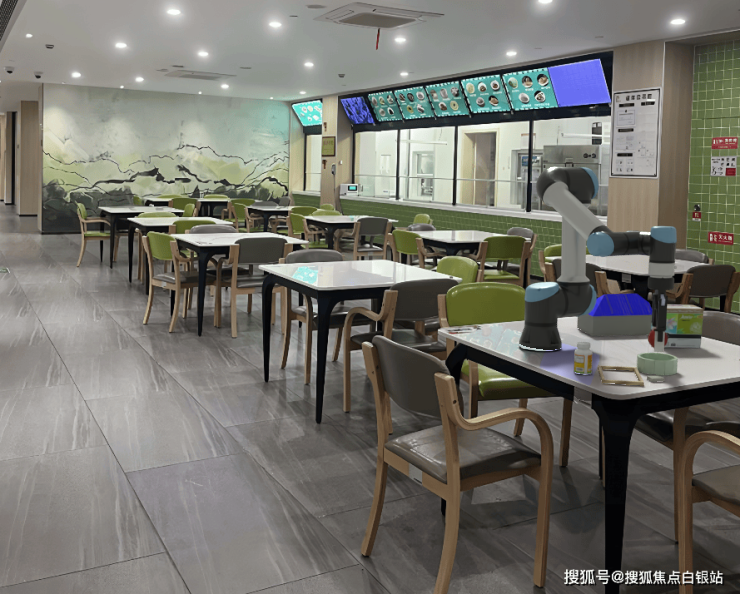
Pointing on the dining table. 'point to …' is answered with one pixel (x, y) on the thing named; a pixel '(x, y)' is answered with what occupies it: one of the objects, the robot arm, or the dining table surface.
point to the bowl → (657, 363)
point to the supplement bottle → (583, 358)
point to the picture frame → (639, 382)
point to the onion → (652, 338)
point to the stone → (655, 378)
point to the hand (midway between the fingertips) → (657, 349)
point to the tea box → (684, 326)
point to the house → (617, 316)
